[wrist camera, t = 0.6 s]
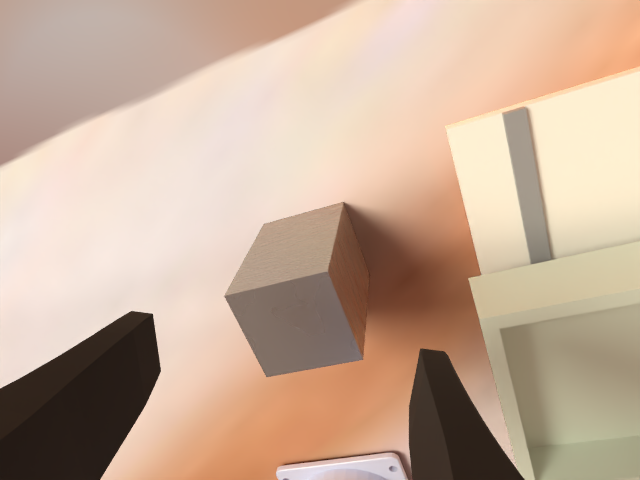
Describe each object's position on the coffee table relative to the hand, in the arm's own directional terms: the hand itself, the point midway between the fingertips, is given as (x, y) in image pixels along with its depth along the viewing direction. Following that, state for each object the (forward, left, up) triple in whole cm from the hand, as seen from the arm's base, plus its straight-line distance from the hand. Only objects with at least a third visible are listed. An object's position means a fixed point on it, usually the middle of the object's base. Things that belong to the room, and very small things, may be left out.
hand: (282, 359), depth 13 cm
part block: (-2, +1, -10) cm, 10 cm away
